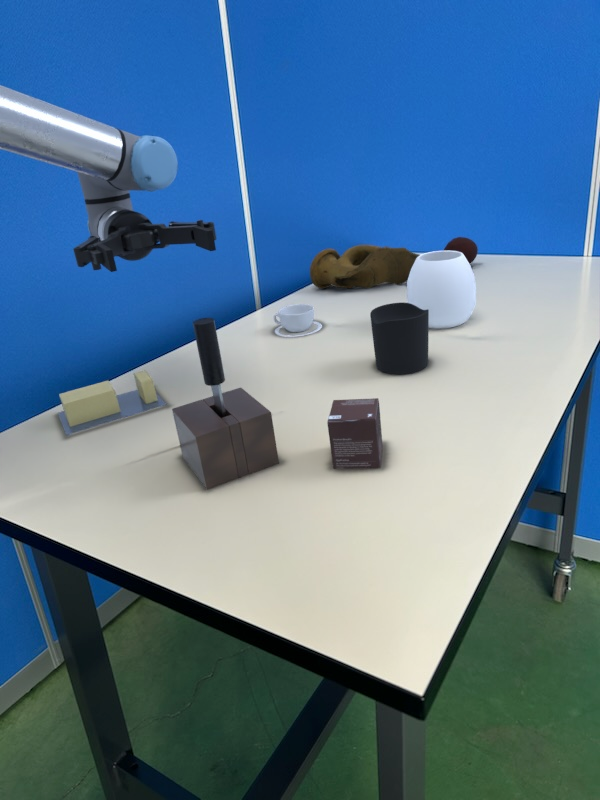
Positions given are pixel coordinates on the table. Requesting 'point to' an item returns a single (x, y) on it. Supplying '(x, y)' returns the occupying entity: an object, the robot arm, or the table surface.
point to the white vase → (443, 288)
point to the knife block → (226, 438)
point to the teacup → (296, 319)
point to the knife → (210, 360)
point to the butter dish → (128, 406)
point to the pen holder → (400, 338)
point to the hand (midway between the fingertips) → (163, 250)
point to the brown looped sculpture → (361, 266)
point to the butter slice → (145, 387)
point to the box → (355, 434)
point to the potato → (463, 247)
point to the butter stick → (89, 403)
